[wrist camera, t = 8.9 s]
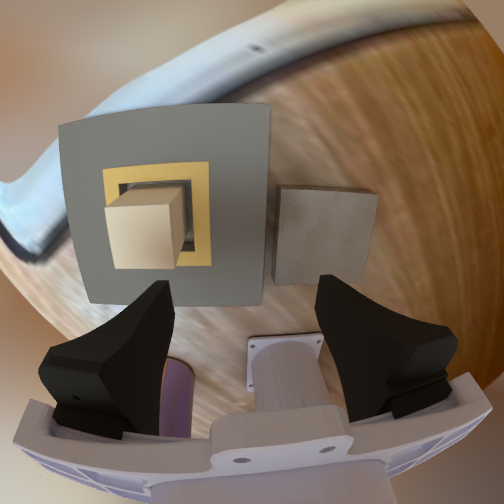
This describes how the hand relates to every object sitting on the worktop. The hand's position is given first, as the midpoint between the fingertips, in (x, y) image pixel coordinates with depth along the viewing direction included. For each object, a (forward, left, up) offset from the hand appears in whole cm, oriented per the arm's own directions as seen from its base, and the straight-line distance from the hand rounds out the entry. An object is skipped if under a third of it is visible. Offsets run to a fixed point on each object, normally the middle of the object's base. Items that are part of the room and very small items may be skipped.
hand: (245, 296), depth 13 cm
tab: (-1, -7, -10) cm, 12 cm away
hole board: (+1, +6, -10) cm, 11 cm away
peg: (+1, +6, -10) cm, 12 cm away
